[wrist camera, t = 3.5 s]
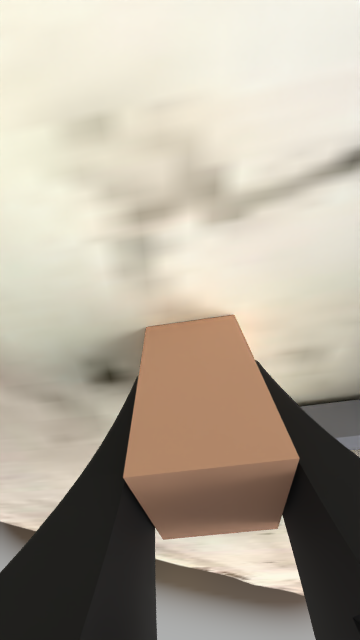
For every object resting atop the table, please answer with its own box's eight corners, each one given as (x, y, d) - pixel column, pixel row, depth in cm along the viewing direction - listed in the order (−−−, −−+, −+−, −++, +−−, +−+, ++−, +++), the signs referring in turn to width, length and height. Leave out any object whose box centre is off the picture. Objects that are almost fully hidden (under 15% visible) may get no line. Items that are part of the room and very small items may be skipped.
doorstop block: (235, 388, 13) (277, 528, 8) (165, 397, 13) (162, 539, 8) (234, 314, 10) (299, 458, 5) (146, 327, 10) (123, 477, 5)
